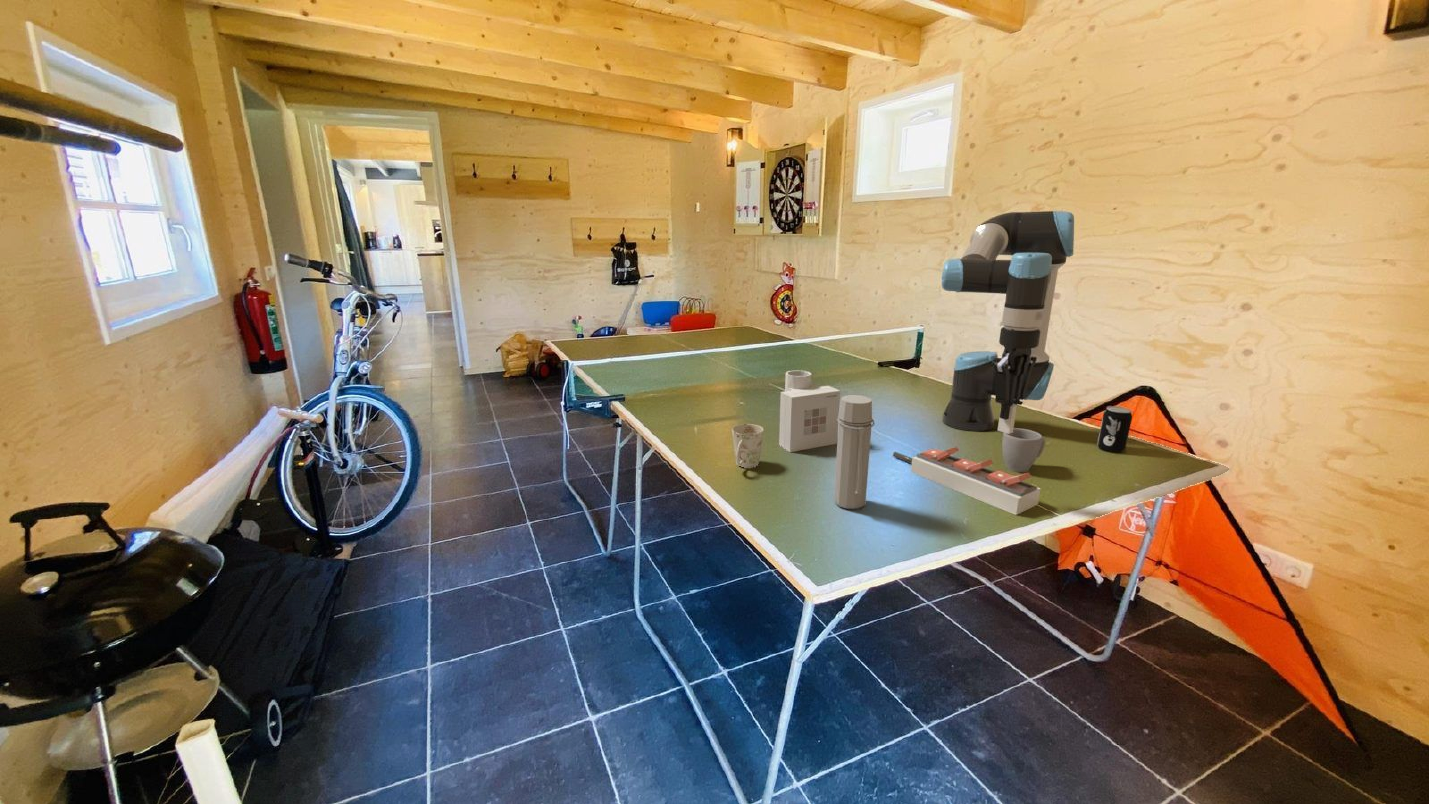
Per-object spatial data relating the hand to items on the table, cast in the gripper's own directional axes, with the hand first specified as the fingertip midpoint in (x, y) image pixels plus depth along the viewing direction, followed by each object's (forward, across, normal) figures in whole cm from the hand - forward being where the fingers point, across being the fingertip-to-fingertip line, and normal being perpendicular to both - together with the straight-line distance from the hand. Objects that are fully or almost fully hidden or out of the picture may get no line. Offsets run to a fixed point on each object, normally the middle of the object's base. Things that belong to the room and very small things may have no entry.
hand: (1005, 431), depth 126 cm
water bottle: (+16, -31, +16) cm, 39 cm away
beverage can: (+17, +55, -1) cm, 57 cm away
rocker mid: (+11, 0, +6) cm, 13 cm away
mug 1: (+16, -38, +47) cm, 63 cm away
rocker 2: (+11, 0, -3) cm, 11 cm away
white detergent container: (+17, -12, +56) cm, 59 cm away
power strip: (+16, 0, +11) cm, 20 cm away
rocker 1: (+11, 0, +15) cm, 19 cm away
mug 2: (+17, +22, +6) cm, 28 cm away
